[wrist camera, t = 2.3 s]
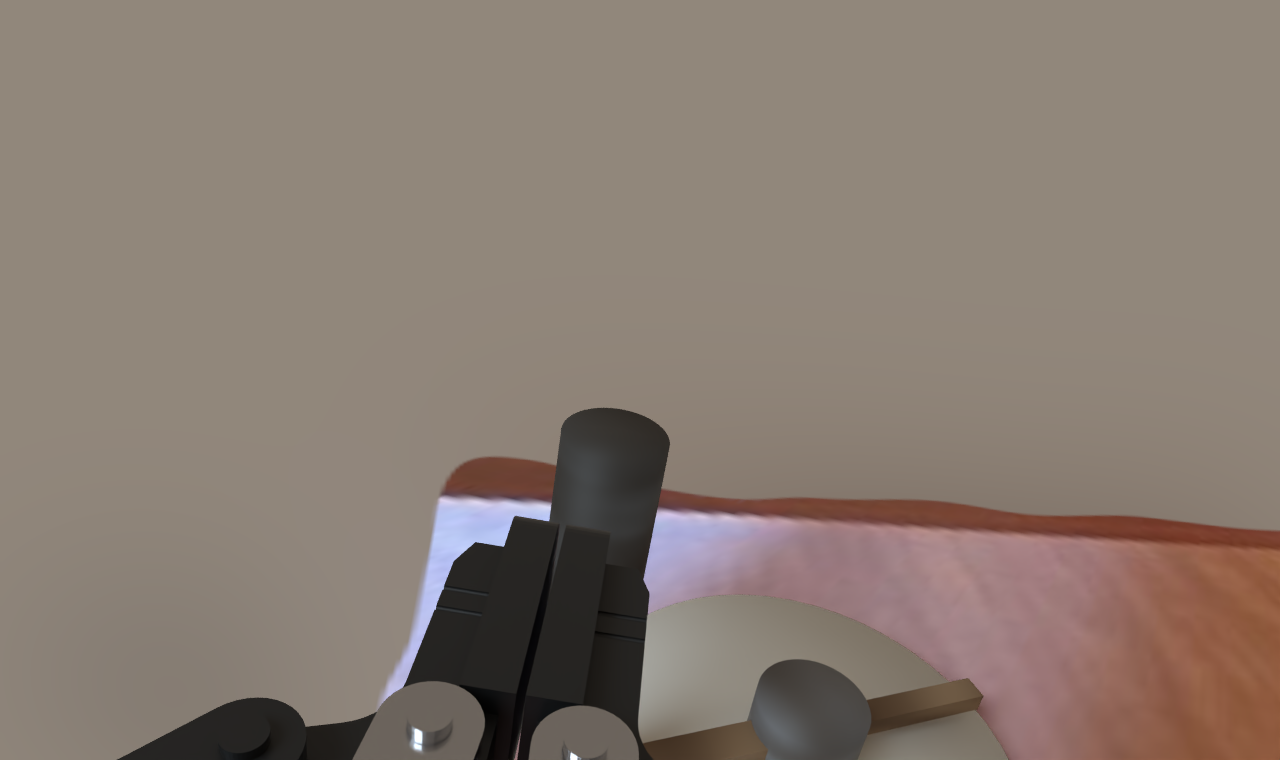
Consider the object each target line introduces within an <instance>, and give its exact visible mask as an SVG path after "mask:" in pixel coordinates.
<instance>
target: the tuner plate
mask: <svg viewBox="0 0 1280 760" xmlns="http://www.w3.org/2000/svg"><path fill="white" fill-rule="evenodd" d="M646 624H647V626H646V637H645V649H644V660H643V671H642V682H641V693H640V704H639V715H638V729H639V734H640V738H641V740H642V743H646V742H651V741H655V740H660V739H665V738H669V737H674V736H679V735H684V734H688V733H693V732H698V731H702V730H707V729H712V728H716V727H721V726H726V725H731V724H735V723H740V722H745V721H747V719H748V716H749V712H750V709H751V705H752V702H753V699H754V695H755V692H756V688H757V685H758V682H759V679H760V677H761V675H762V674H763V673H764V671H765V670H766V669H768V668H769V667H770V666H772V665H773V664H775V663H778V662H781V661H785V660H791V659H802V660H810V661H815V662H818V663H821V664H824V665H827V666H829V667H831V668H833V669H835V670H837V671H839V672H840V673H842V674H843V675H845V676H846V677H847V678H848V679H850V680H851V681H852V682H853V683H854V684H855V685H856V686H857V687H858V688H859V690H860V691H861V692H862V693H863V695H864V697H865V698H866V700H869V699H873V698H878V697H883V696H887V695H892V694H897V693H901V692H906V691H910V690H915V689H920V688H924V687H929V686H934V685H938V684H943V683H948V682H949V681H947V680H946V679H945V678H944V677H943V676H942V675H941V674H939V673H938V672H937V671H936V670H935V669H934V668H932V667H931V666H930V665H929V664H927V663H926V662H925V661H923V660H922V659H921V658H919V657H918V656H916V655H915V654H914V653H912V652H911V651H910V650H908V649H907V648H905V647H903V646H902V645H900V644H899V643H897V642H895V641H894V640H892V639H890V638H889V637H887V636H886V635H884V634H882V633H880V632H878V631H876V630H874V629H872V628H870V627H868V626H866V625H864V624H862V623H860V622H857V621H855V620H853V619H850V618H848V617H845V616H843V615H841V614H838V613H835V612H832V611H829V610H826V609H823V608H820V607H817V606H814V605H810V604H805V603H801V602H797V601H793V600H788V599H782V598H775V597H768V596H756V595H718V596H710V597H703V598H696V599H692V600H688V601H684V602H679V603H675V604H673V605H670V606H667V607H665V608H662V609H659V610H657V611H654V612H652V613H650V614H649V615H647V623H646ZM858 760H1009V759H1008V758H1007V756H1006V754H1005V752H1004V750H1003V748H1002V746H1001V745H1000V743H999V742H998V740H997V739H996V737H995V736H994V734H993V733H992V731H991V730H990V728H989V727H988V725H987V724H986V722H985V721H984V720H983V719H982V717H981V716H980V715H979V714H978V712H977V711H976V710H973V711H969V712H964V713H960V714H956V715H951V716H947V717H943V718H938V719H934V720H930V721H926V722H921V723H917V724H913V725H908V726H904V727H900V728H896V729H891V730H887V731H883V732H878V733H874V734H870V735H867V737H866V739H865V742H864V744H863V747H862V750H861V752H860V755H859V757H858Z"/></svg>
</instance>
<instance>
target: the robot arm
mask: <svg viewBox="0 0 1280 760" xmlns="http://www.w3.org/2000/svg"><path fill="white" fill-rule="evenodd" d="M559 527H560V523H555V522H549V521H543V520H537V519H531V518H525V517H519V516H515V517H514V519H513V521H512V524H511V527H510V530H509V533H508V536H507V539H506V542H505V546H504V547H501V546H495V545H489V544H483V543H477V542H475V543H474V544H473V545H472V546H471V547H469V548H468V549H467V550H466V551H465V552H464V553H463V554H461V555H460V556H459V557H458V558H457V559H456V560H455V561H454V562H453V565H452V567H451V570H450V572H449V575H448V577H447V580H446V582H445V585H444V590H442V592H441V595H440V598H439V600H438V603H437V606H436V610H434V613H433V615H432V618H431V620H430V623H429V625H428V628H427V630H426V633H425V635H424V638H423V640H422V643H421V645H420V648H419V650H418V653H417V655H416V658H415V660H414V663H413V666H412V668H411V671H410V673H409V676H408V678H407V681H406V683H405V685H404V687H403V688H402V689H400V690H398V691H396V692H395V693H393V694H392V695H391V696H389V697H388V698H387V699H386V700H385V701H384V702H383V703H382V705H381V706H380V708H379V709H378V711H377V712H375V713H374V714H371V715H369V716H367V717H364V718H361V719H358V720H354V721H350V722H344V723H337V724H328V725H319V726H310V727H305V724H304V721H303V719H302V718H301V716H300V715H299V713H298V712H297V711H296V710H294V709H293V708H292V707H291V706H289V705H287V704H286V703H283V702H280V701H278V700H273V699H269V698H247V699H241V700H236V701H233V702H230V703H227V704H225V705H222V706H220V707H218V708H216V709H214V710H212V711H210V712H208V713H206V714H204V715H202V716H200V717H198V718H197V719H195V720H193V721H191V722H189V723H187V724H185V725H183V726H181V727H179V728H177V729H175V730H173V731H172V732H170V733H168V734H166V735H164V736H162V737H160V738H158V739H156V740H154V741H152V742H150V743H149V744H147V745H145V746H143V747H141V748H139V749H137V750H135V751H133V752H131V753H130V754H128V755H126V756H123V757H122V758H120V759H118V760H514V758H515V754H516V750H517V745H518V741H519V737H520V744H519V752H518V759H517V760H653V758H652V757H651V756H650V755H649V753H648V752H647V750H646V748H645V747H644V745H643V743H642V740H641V738H640V734H639V729H638V715H639V704H640V693H641V682H642V671H643V660H644V649H645V637H646V626H647V624H646V623H647V615H648V604H649V591H648V589H647V587H646V585H645V583H644V581H643V578H642V576H641V574H640V572H639V570H638V569H634V568H628V567H622V566H616V565H610V564H606V559H607V552H608V546H609V540H610V534H611V532H610V531H604V530H598V529H592V528H586V527H580V526H574V525H568V524H567V525H566V528H565V532H564V536H563V540H562V545H561V549H560V553H559V557H558V561H557V566H556V570H555V574H554V578H553V572H554V565H555V557H556V550H557V543H558V536H559ZM552 579H553V583H552ZM551 586H552V587H551ZM521 728H522V729H521ZM520 732H521V736H520Z"/></svg>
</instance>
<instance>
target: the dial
mask: <svg viewBox="0 0 1280 760" xmlns="http://www.w3.org/2000/svg"><path fill="white" fill-rule="evenodd" d="M669 446H670V442H669V438H668V435H667V434H666V432H665V431H664V430H663V429H662V428H661V427H660V426H659V425H658V424H656V423H655V422H654V421H652V420H650V419H649V418H647V417H645V416H642V415H639V414H637V413H634V412H630V411H626V410H621V409H613V408H594V409H588V410H583V411H580V412H577V413H575V414H573V415H571V416H570V417H569V418H567V420H565V422H564V423H563V425H562V428H561V437H560V444H559V451H558V459H557V467H556V474H555V482H554V490H553V497H552V505H551V513H550V520H549V522H555V523H560V527H559V536H558V543H557V550H556V557H555V565H554V572H553V578H554V574H555V570H556V566H557V561H558V557H559V553H560V549H561V545H562V540H563V536H564V532H565V528H566V525H567V524H568V525H574V526H580V527H586V528H592V529H598V530H604V531H610V532H611V534H610V540H609V546H608V552H607V559H606V564H610V565H616V566H622V567H628V568H634V569H638V570H639V572H640V574H641V576H642V578H644V573H645V568H646V563H647V558H648V553H649V548H650V543H651V538H652V533H653V528H654V523H655V518H656V513H657V508H658V502H659V497H660V492H661V487H662V482H663V477H664V472H665V466H666V462H667V457H668V452H669ZM552 583H553V579H552ZM551 587H552V586H551ZM982 698H983V695H982V694H981V693H980V691H979V690H978V689H977V688H976V687H975V686H974V684H973V683H972V682H971V681H970V680H969V679H968V678H966V679H962V680H957V681H952V682H948V683H943V684H938V685H934V686H929V687H924V688H920V689H915V690H910V691H906V692H901V693H897V694H892V695H887V696H883V697H878V698H873V699H869V700H866V698H865V697H864V695H863V693H862V692H861V691H860V690H859V688H858V687H857V686H856V685H855V684H854V683H853V682H852V681H851V680H850V679H848V678H847V677H846V676H845V675H843V674H842V673H840V672H839V671H837V670H835V669H833V668H831V667H829V666H827V665H824V664H821V663H818V662H815V661H810V660H802V659H791V660H785V661H781V662H778V663H775V664H773V665H772V666H770V667H769V668H768V669H766V670H765V671H764V673H763V674H762V675H761V677H760V679H759V682H758V685H757V688H756V692H755V695H754V699H753V702H752V705H751V709H750V712H749V716H748V719H747V721H745V722H740V723H735V724H731V725H726V726H721V727H716V728H712V729H707V730H702V731H698V732H693V733H688V734H684V735H679V736H674V737H669V738H665V739H660V740H655V741H651V742H646V743H643V745H644V747H645V748H646V750H647V752H648V753H649V755H650V756H651V757H652V758H653V760H858V757H859V755H860V752H861V750H862V747H863V744H864V742H865V739H866V737H867V735H870V734H874V733H878V732H883V731H887V730H891V729H896V728H900V727H904V726H908V725H913V724H917V723H921V722H926V721H930V720H934V719H938V718H943V717H947V716H951V715H956V714H960V713H964V712H969V711H973V710H977V709H978V707H979V705H980V702H981V700H982Z"/></svg>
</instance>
